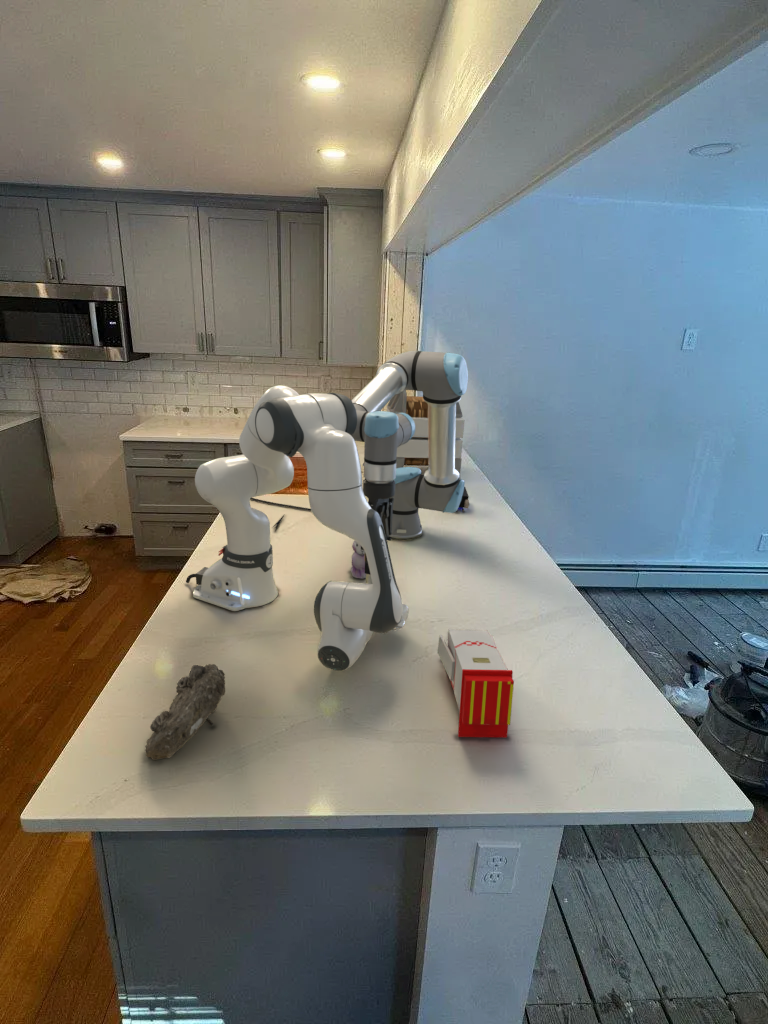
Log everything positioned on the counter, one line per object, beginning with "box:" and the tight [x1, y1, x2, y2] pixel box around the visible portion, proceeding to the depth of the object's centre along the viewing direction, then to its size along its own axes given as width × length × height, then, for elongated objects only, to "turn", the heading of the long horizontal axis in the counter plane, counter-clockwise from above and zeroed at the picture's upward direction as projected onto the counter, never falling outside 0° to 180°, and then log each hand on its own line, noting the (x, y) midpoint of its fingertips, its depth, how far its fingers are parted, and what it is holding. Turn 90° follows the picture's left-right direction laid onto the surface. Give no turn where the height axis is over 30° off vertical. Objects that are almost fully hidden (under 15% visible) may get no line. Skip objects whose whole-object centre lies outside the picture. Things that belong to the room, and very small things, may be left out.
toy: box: [437, 628, 515, 738], centre depth 117 cm, size 12×13×30 cm
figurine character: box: [455, 486, 470, 513], centre depth 227 cm, size 7×8×15 cm
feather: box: [270, 514, 286, 532], centre depth 209 cm, size 2×28×2 cm
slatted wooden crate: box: [386, 390, 465, 479], centre depth 268 cm, size 34×33×41 cm
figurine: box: [350, 540, 366, 580], centre depth 167 cm, size 9×10×15 cm
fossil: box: [144, 663, 226, 761], centre depth 105 cm, size 22×10×15 cm
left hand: (375, 595), depth 144 cm, fingers closed on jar, 5 cm apart
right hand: (375, 568), depth 140 cm, fingers closed on lid, 5 cm apart
